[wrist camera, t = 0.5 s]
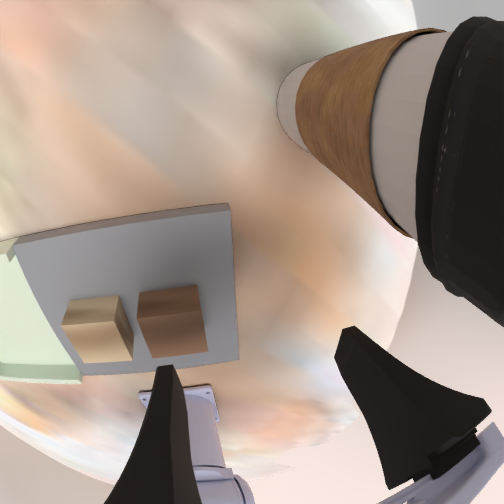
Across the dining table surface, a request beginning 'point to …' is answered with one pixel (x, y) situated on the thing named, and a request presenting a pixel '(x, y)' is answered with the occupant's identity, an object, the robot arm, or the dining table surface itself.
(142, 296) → the walnut tile
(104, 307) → the oak tile
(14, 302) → the tray
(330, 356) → the dining table surface
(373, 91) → the coffee cup
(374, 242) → the dining table surface
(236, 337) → the slate board
